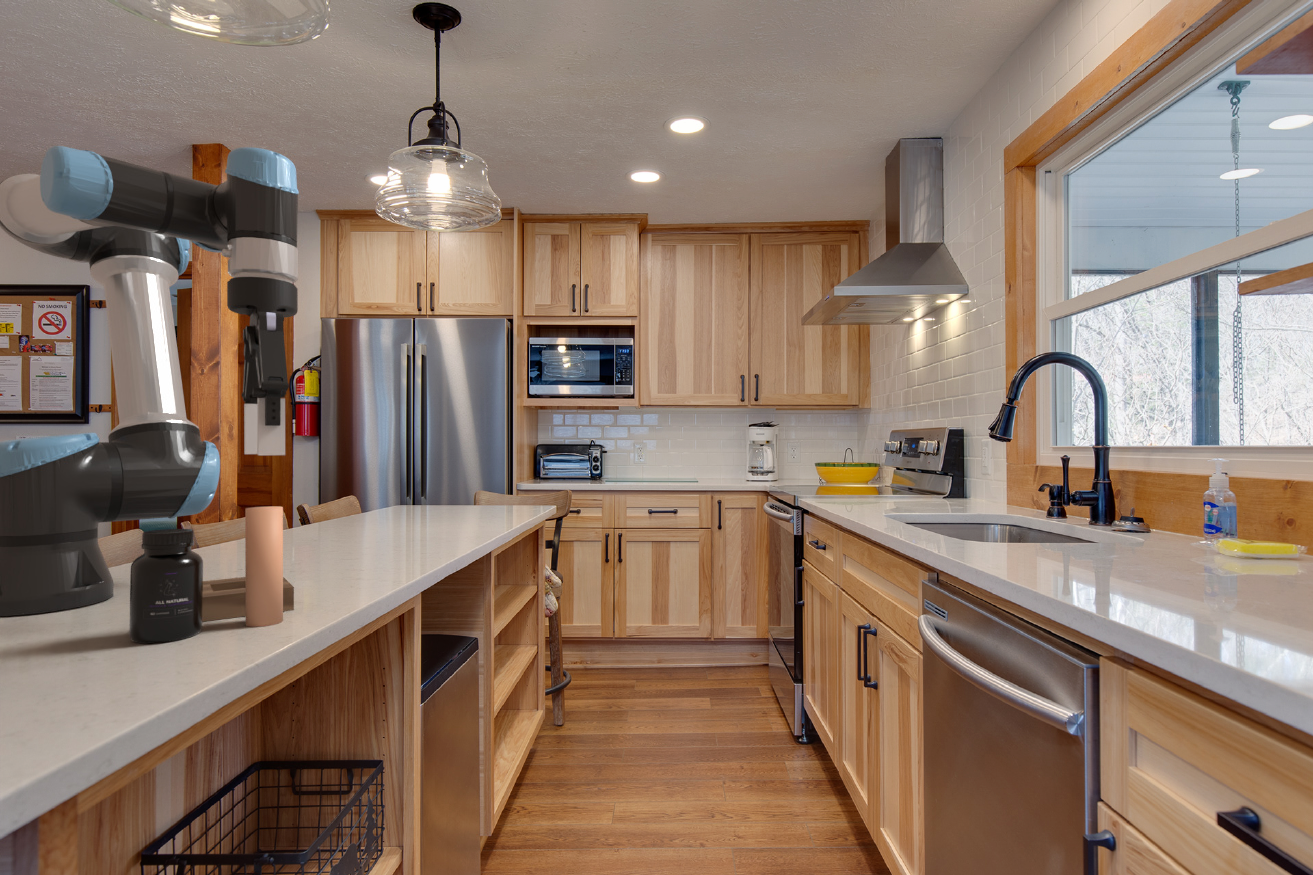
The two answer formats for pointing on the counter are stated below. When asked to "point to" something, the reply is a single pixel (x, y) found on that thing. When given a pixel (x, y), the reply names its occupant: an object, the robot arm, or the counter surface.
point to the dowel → (264, 565)
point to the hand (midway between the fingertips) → (263, 455)
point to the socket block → (233, 598)
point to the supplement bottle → (166, 588)
